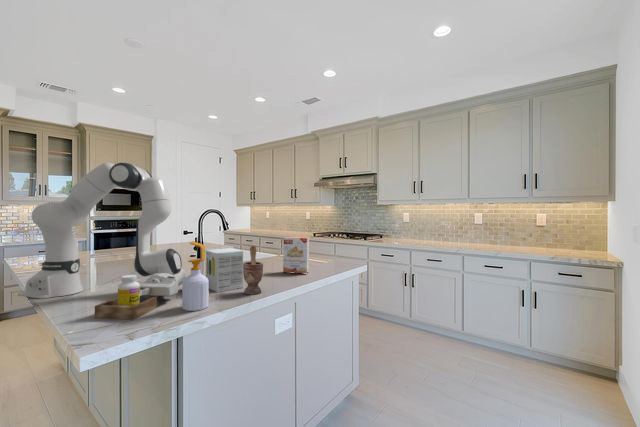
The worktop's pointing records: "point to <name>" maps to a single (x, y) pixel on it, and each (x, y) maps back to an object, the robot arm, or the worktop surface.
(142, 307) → the corral
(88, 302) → the worktop surface
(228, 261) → the supplement box
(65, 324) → the worktop surface
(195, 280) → the soap bottle
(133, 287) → the supplement bottle
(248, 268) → the mortar and pestle
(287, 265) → the cracker box
